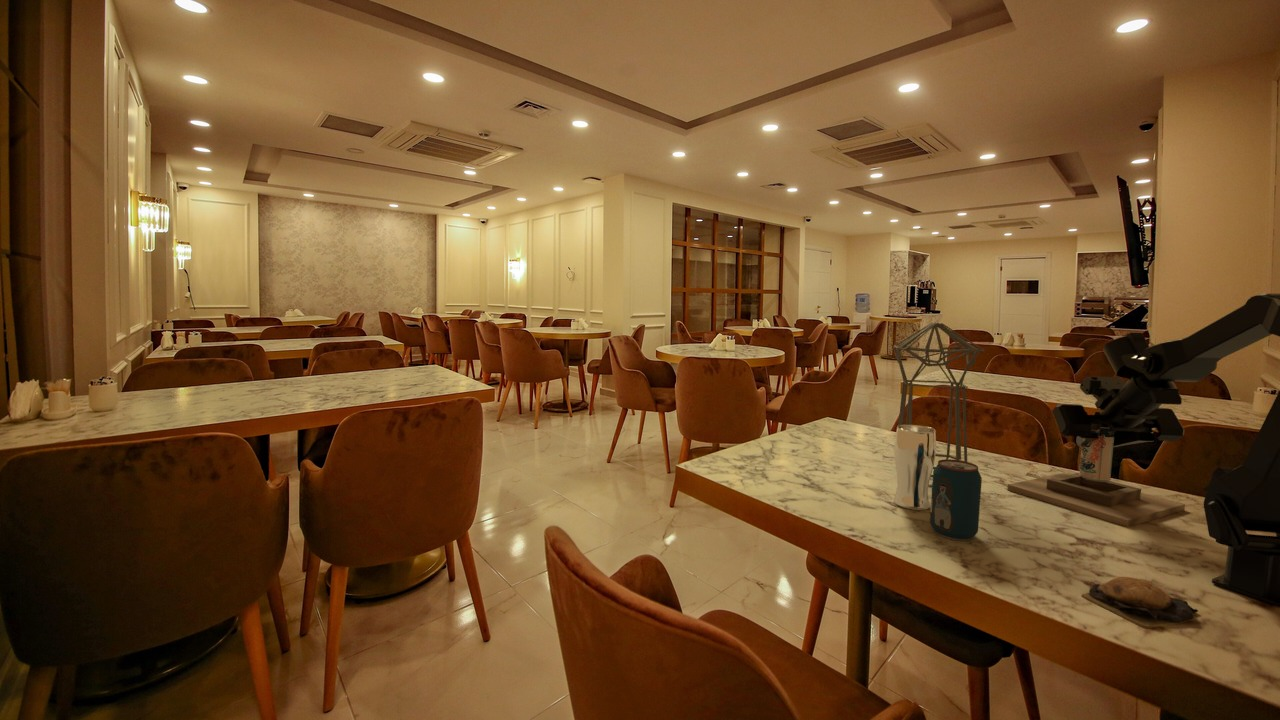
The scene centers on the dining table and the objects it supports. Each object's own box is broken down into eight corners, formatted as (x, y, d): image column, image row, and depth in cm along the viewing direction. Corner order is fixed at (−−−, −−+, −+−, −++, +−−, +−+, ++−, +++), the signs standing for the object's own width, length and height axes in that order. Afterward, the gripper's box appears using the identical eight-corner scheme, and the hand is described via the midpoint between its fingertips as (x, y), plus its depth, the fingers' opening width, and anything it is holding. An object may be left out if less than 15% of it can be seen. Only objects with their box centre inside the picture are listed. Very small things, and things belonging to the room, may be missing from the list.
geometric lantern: (892, 487, 109) (898, 322, 107) (887, 468, 124) (893, 322, 121) (979, 497, 103) (988, 322, 101) (964, 476, 118) (971, 322, 115)
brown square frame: (1127, 526, 90) (1129, 509, 90) (1007, 489, 108) (1008, 475, 108) (1184, 510, 98) (1186, 493, 98) (1063, 478, 116) (1064, 464, 116)
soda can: (976, 530, 88) (981, 462, 87) (978, 546, 82) (984, 473, 81) (929, 521, 92) (934, 455, 90) (928, 536, 86) (933, 466, 84)
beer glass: (883, 500, 102) (887, 425, 100) (909, 496, 104) (914, 423, 103) (913, 513, 95) (918, 433, 94) (940, 508, 98) (945, 431, 96)
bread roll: (1147, 636, 61) (1151, 606, 60) (1072, 597, 69) (1075, 570, 68) (1212, 623, 63) (1215, 594, 63) (1132, 587, 71) (1135, 561, 71)
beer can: (1072, 475, 105) (1077, 417, 104) (1097, 475, 105) (1102, 417, 104) (1091, 482, 100) (1096, 422, 99) (1117, 483, 100) (1123, 422, 99)
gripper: (1178, 365, 95) (1129, 413, 106) (1061, 362, 98) (1027, 409, 110) (1211, 415, 88) (1155, 461, 99) (1084, 410, 91) (1044, 455, 103)
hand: (1092, 444), depth 103 cm, fingers closed on beer can, 5 cm apart
